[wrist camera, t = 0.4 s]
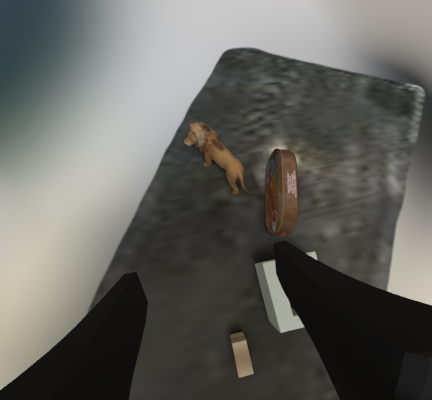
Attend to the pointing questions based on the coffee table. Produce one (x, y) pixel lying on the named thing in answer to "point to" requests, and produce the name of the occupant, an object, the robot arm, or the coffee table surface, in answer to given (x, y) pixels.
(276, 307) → the box
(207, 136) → the lion figurine
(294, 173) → the tin
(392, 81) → the coffee table surface
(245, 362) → the block
